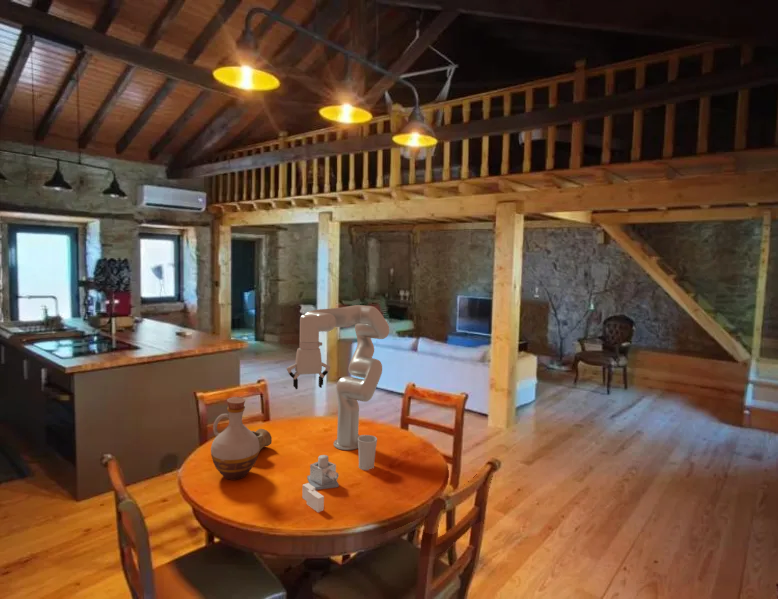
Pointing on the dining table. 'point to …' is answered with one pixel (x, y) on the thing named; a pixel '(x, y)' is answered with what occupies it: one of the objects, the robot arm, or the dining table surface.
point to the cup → (366, 451)
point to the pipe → (263, 438)
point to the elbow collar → (323, 473)
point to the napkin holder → (313, 497)
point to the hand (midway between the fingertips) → (308, 387)
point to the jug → (234, 443)
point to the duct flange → (322, 464)
